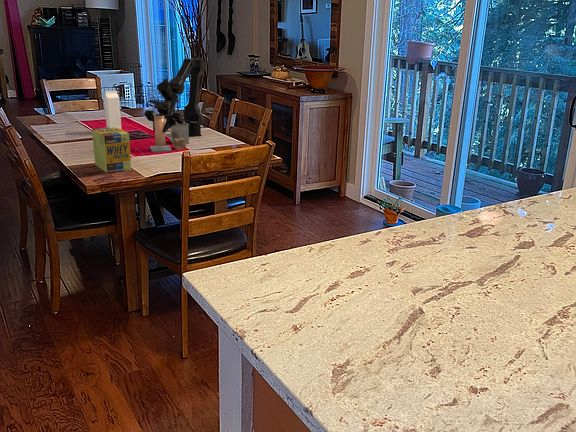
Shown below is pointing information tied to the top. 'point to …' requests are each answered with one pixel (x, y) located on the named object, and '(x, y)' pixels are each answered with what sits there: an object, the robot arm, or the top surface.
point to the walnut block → (179, 143)
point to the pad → (160, 148)
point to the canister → (159, 130)
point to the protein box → (111, 149)
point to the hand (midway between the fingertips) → (158, 131)
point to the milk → (112, 109)
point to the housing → (179, 132)
